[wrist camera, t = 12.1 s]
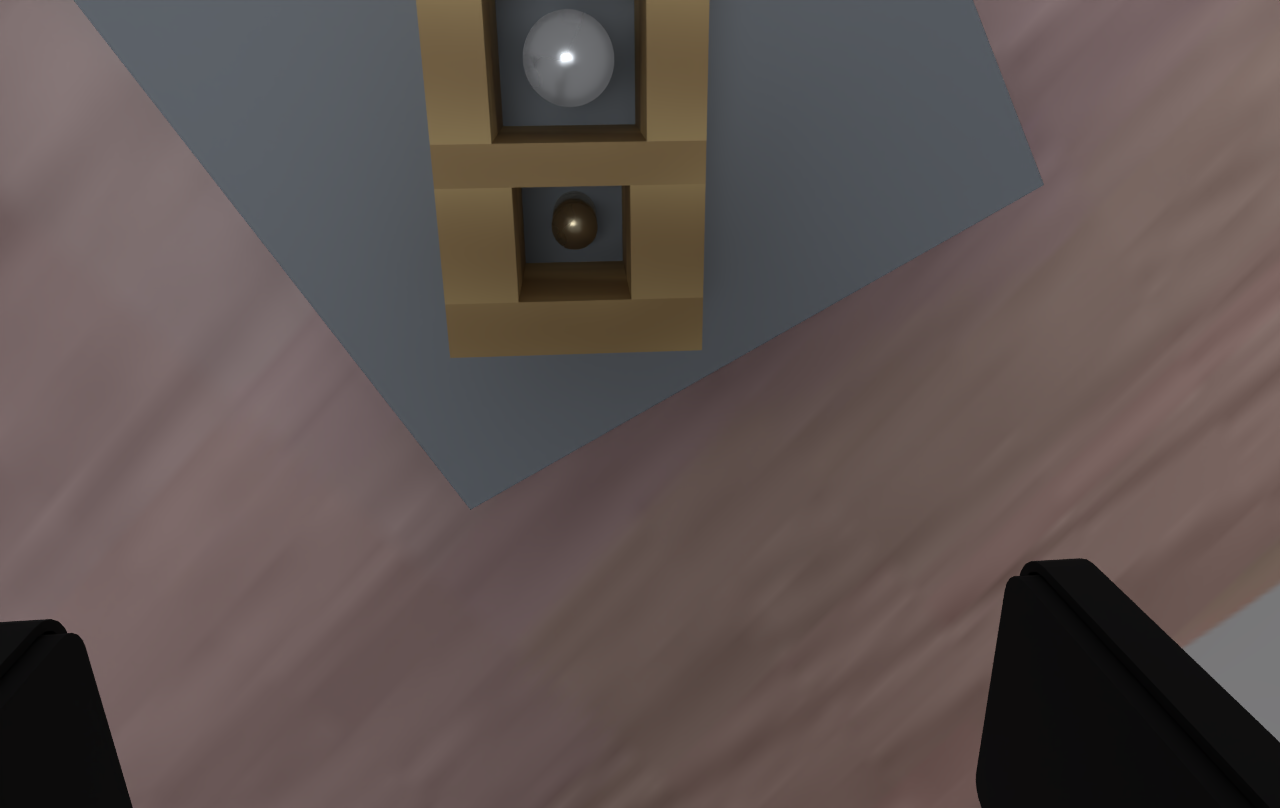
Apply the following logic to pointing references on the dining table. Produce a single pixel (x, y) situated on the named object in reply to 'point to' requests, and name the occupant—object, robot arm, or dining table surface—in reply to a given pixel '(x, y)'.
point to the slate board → (734, 194)
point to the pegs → (569, 96)
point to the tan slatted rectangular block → (563, 157)
